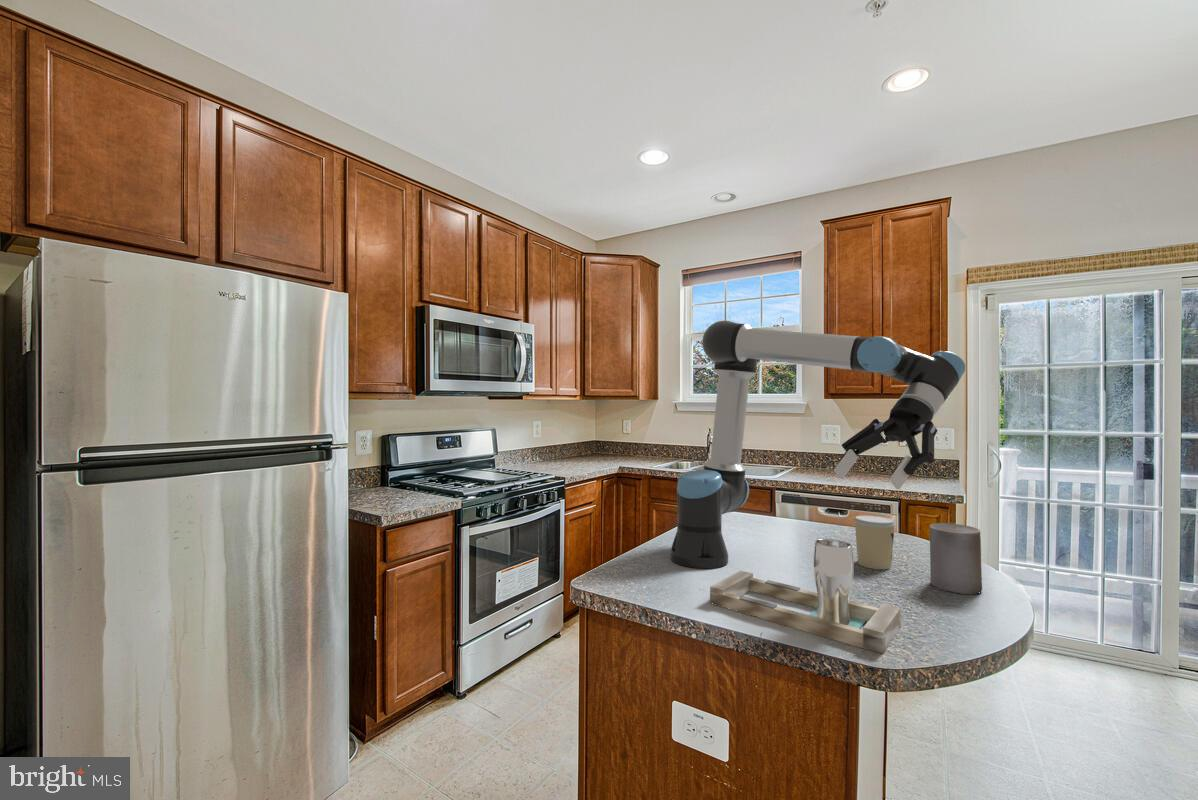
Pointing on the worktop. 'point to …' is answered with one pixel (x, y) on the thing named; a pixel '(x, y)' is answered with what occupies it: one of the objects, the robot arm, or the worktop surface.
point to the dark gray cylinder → (955, 558)
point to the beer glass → (833, 579)
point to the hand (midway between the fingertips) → (864, 479)
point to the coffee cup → (874, 541)
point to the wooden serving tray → (872, 636)
